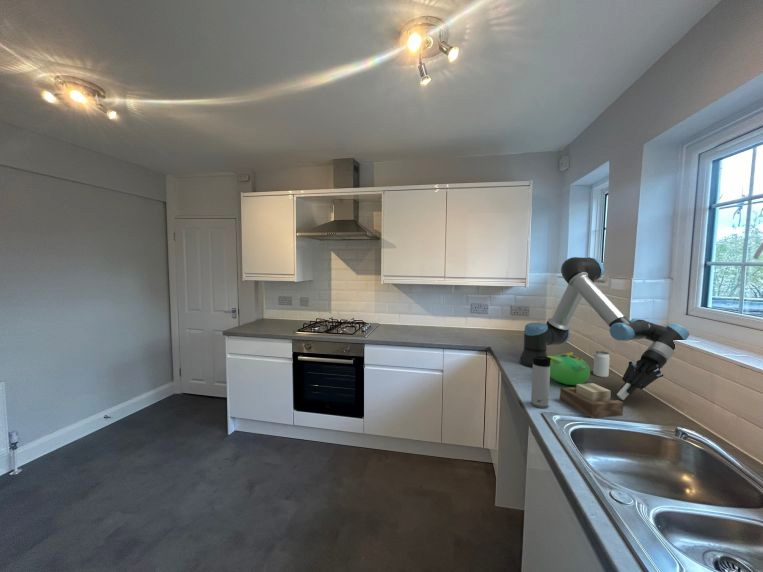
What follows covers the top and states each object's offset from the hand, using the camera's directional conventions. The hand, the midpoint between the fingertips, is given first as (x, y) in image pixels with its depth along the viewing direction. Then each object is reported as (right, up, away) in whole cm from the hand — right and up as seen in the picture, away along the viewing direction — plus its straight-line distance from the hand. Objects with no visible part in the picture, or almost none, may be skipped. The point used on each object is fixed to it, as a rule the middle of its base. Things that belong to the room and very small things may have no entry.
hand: (620, 397), depth 127 cm
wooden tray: (-13, -3, -2) cm, 14 cm away
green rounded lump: (-8, -2, +23) cm, 24 cm away
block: (-13, -3, -2) cm, 13 cm away
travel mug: (-33, -3, -1) cm, 33 cm away
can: (+17, -1, +35) cm, 39 cm away
